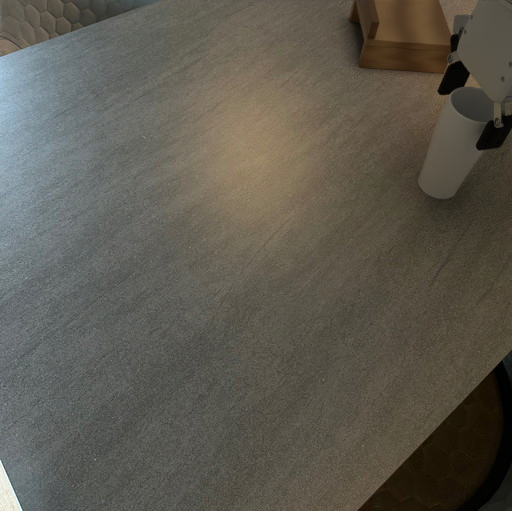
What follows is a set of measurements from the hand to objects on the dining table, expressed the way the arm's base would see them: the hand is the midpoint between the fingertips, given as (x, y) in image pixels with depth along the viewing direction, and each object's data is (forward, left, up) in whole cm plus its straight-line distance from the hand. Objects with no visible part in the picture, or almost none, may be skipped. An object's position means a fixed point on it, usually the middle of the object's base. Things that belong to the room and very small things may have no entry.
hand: (467, 119), depth 74 cm
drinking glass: (0, 0, -13) cm, 13 cm away
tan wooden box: (0, -33, -13) cm, 35 cm away
